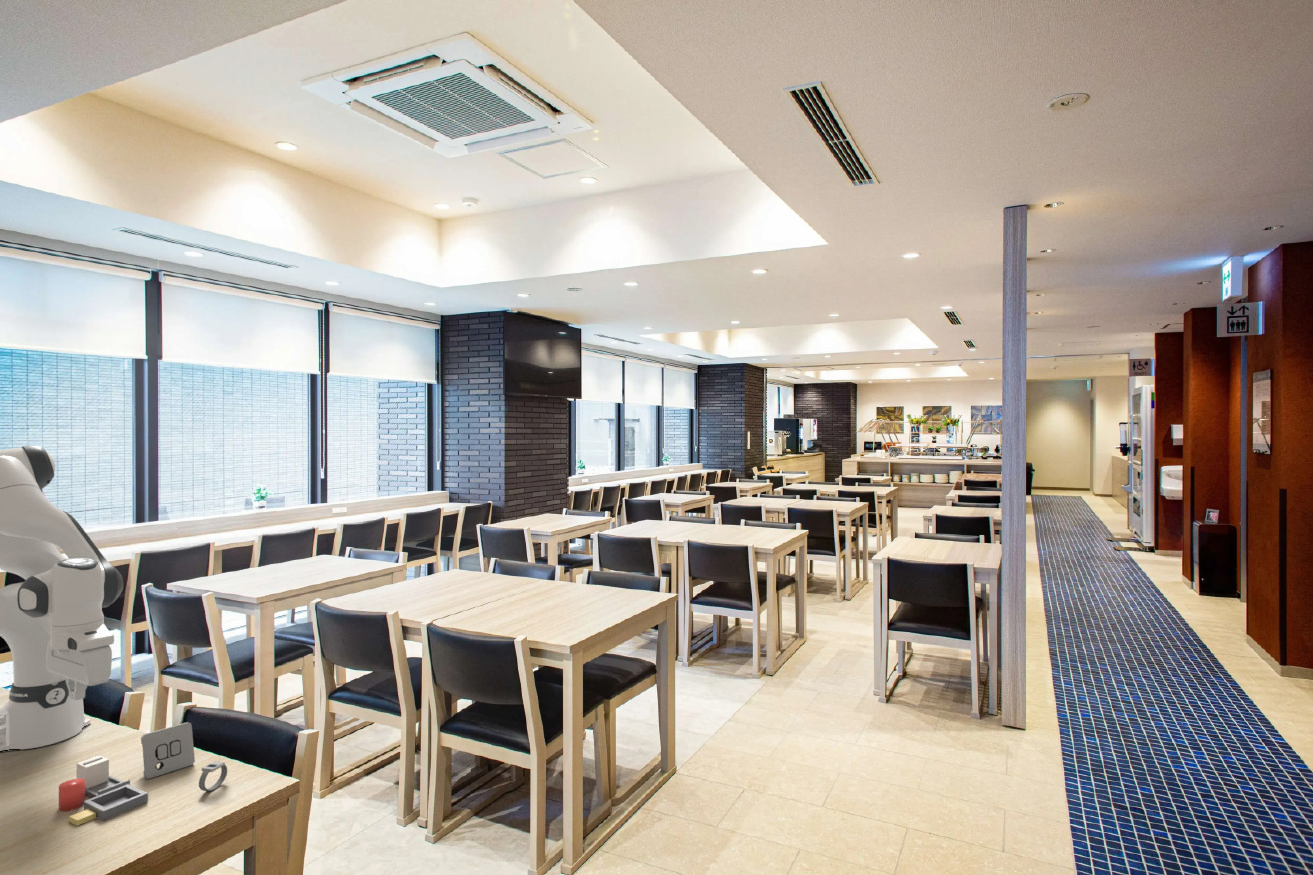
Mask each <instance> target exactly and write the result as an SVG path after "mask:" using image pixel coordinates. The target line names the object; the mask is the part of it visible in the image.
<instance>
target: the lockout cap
mask: <svg viewBox="0 0 1313 875" xmlns="http://www.w3.org/2000/svg"><path fill="white" fill-rule="evenodd" d="M84 801H86V795H85V779H83V778H78V779H77V778H72V779H70V780H69V779H68V780H66V781H64V782H62V783H61V784H59V785H58V811H59V812H70V811H73V810H76V809H78V808H80V807H83V806H84Z"/></svg>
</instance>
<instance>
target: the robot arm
mask: <svg viewBox="0 0 1313 875" xmlns="http://www.w3.org/2000/svg"><path fill="white" fill-rule="evenodd" d="M55 472H56V463H55V461H54V458H53V457H52V455H51V454H50V453H49V452H48V451H47V450H46V449H45V448H43V447H42V446H40V445H23V446H21V447H15V448H7V449H6V448H5V449H0V570H1V571H3V572H7V573H10V574H14V575H17V576H19V577H20V578H22V579H24V581H23V582H17V583H11V584H8V585H5V586H2V587H0V637H1V638H2V639H4V641H5V642H6V644H7V645H8V647H9V650H10V651H11V652H10V653H11V656H12V668H13V669H12V670H13V682H12V683H11V686H10V689H9V696H8V701H7V702H6V703H5V704H4V705H3V706H2V707H0V751H2V750H8V751H10V750H9V749H20V750H29V749H34V748H41V747H46V746H50V745H52V744H57V743H60V742H63V741H65V740H67V739H70V738H73V737H74V736H76V735H78V734H80V733H81V732H82V731H83V729H84V728H85V727H84V726H85V725H86V724H88V723H90V721H91V718H86V717H85V711H84V709H85V708H84V699H85V698H86V690H87V688H88V687H92V686H97V685H101V684H105V683H107V682H108V681H109V680H110V677H111V674H112V665H113V664H112V663H113V662H112V661H113V658H112V657H113V651H112V648H111V646H110V645H113V644H114V642H115V636H114V634H113V632H111V631H110V630H109V629H108V628H107V626H106V625H107V624H105V621H104V618H105V615H104V612H103V610H102V609H103V608H108V607H110V606H111V605H112V604H113V603H114V602H116V601H117V599H118V598H119V597H120V595H121V594H122V592H123V590H124V586H125V585H124V584H125V583H124V577H123V576H122V574H121V573H120V572H119V570H118V569H117V568H116V567H115V566H114V565H113V564H112V563H110V562H109V561H108V560H107V559H106V558H105V556H104V555H103V553H102V552H101V551H100V550H99V548H98V547H97V546H96V545H95V544H96V543H94V542H93V540H92V539H91V537H90V536H89V535H88V533H87V532H86V531H85V530H84V528H83V527H82V526H81V525H80V522H78V520H77V519H76V518H75V517H74V516H73V515H72V514H70V512H69V513H68V512H66V511H65V510H62V509H60V508H59V507H58V506H56V505H54V504H53V503H52V502H51V501H50V500H48V498H46V497H45V495H44V493H43V489H44V488H46V487H47V486H48V485H49V484H50V483H51V482H52V480H53V479H54V477H55ZM57 547H58V548H60V549H61V550H62V551H63V553H64V554H65V556H67V558H66V557H64V555H62V553H61V552H60V551H59V550H58V548H57ZM90 724H91V723H90ZM83 727H84V728H83ZM82 728H83V729H82Z"/></svg>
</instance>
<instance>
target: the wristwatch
mask: <svg viewBox="0 0 1313 875" xmlns="http://www.w3.org/2000/svg"><path fill="white" fill-rule="evenodd" d="M218 769H220V770H221V773H220V776H219V778H218V780H217V781H216V782H215V784H213V785H212V786H210V787H209V788H207V787H206V779H207V777H208V775H209V773H213V772H215V771H216V770H218ZM201 772H202V773H201V775H200V777H199V780H198V788H199V789H200V790H201V791H204V792H213V791H215V790H216V789H217V788H219V787H220V786H221V785H222V784H223V783H224V781H225V780H226V777H227V774H228V767H227V765H226V762H225V761H216V760H214V761H213V762H210V763H209V764H207V765H205V766H204V767H201Z"/></svg>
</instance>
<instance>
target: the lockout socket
mask: <svg viewBox="0 0 1313 875" xmlns="http://www.w3.org/2000/svg"><path fill="white" fill-rule="evenodd" d="M148 802H149V792H147V791H144V790H141V789H140V788H137V787H135V786H133V785H131V784H130V785H129V784H127V785H124V786H122V787H119V788H117V789H114V790H112V791H109V792H106V793H104V794H101V795H99V796H96V797H94V798H91V797H90V798H89V799H85V801H84V805H83V810H82V811H79V812H77V813H74V814H72V815H69V820H68V821H69V822H70V823H71V824H73V825H75V826H79V825H82V824H85V823H87V822H89V821H92V820H94V819H96V818H97V819H99V820H101V821H105V820H108V819H110V818H112V817H113V818H114V817H115V816H118V815H120V814H123V813H124V812H125V813H126V812H128V811H129V810H132V809H134V808H137V807H140V806H141V805H144V804H147V803H148Z"/></svg>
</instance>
